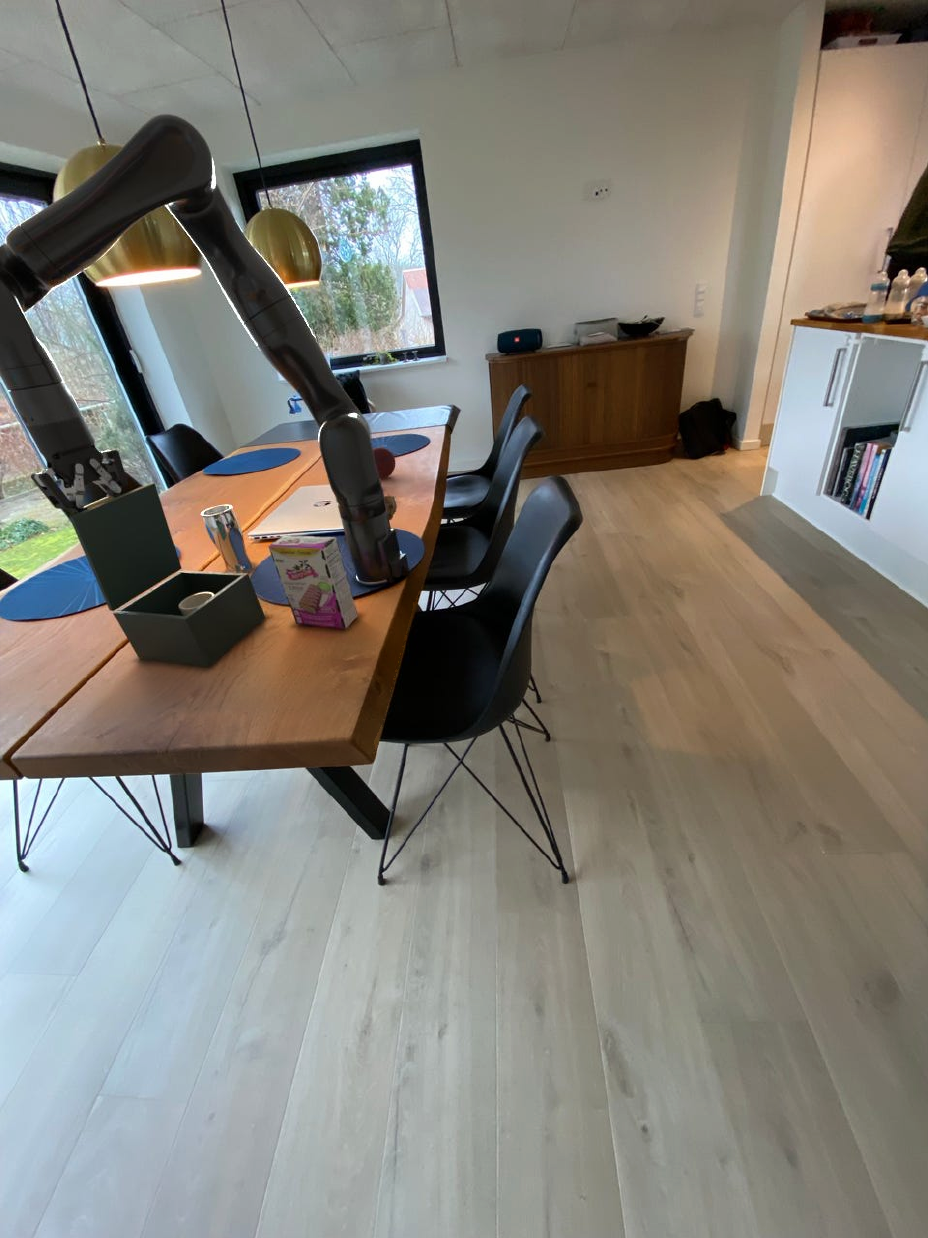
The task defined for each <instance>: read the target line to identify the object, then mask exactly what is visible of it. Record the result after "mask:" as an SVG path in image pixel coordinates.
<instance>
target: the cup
mask: <svg viewBox="0 0 928 1238" xmlns="http://www.w3.org/2000/svg"><path fill="white" fill-rule="evenodd" d="M213 596H214V594H213V593H211V592H203V593H198V594H194V595H192V596H189V597H187V598H186V599H184V600H183V601H181V602H180V604H179V609H180V611H181V613H182V615H183V616H186V615H188V614H189V613H191V612H192V611H193V610H195V609H196V608H198V607H199V606H200V605H202V604H203V603H204V602H206V601H207V600H209V599H210V598H211V597H213Z"/></svg>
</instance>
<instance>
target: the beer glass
mask: <svg viewBox="0 0 928 1238" xmlns="http://www.w3.org/2000/svg"><path fill="white" fill-rule="evenodd" d="M200 516H201V517H202V521H203V523H204V527H205V529H206V532H207V534H208V536H209V539H210V540H211V542H212V544H213V545H214V547H215V548H216V550H217V552H218V553H219V554H220V556H221V558H222V559H223V562H224V566H225V571H226V573H249V572H251V571H252V570H253V569H254V567H255V566H254V564H253V562H252V561H251V559H250V557H249V555H248V552H247V550H246V545H245V539H244V534H243V530H242V527H241V524H240V522H239V518H238V517H237V515H236V512H235V510H234V509H233V506H232V505H231V504H220V505H216V506H212V507H209V508H207V509H205V510H203V511H202V512H201V514H200Z"/></svg>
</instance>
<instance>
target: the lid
mask: <svg viewBox="0 0 928 1238" xmlns="http://www.w3.org/2000/svg"><path fill="white" fill-rule="evenodd" d="M84 507H87V510H85V511H82V512H80V513H78V514H75V515H73V514H72V515H70V516H69V520H70V522H71V524H72V527H73V529H74V531H75V535H76V537H77V538H78V540H79V544H80V546H81V547H82V550H83V552H84V555H85V556H86V560H87V561H88V564H89V566H90V568H91V571H92V573H93V575H94V577H95V581H96V582H97V584H98V587H99V589H100V591H101V594H102V596H103V598H104V601H105V603H106V606H107V608H108V610H109V611H110V612H115V611H117V610H119V609H120V608H122V607H123V606H125V605H127V604H128V603H130V602H131V601H133V600H135V599H136V598H138V597H140V596H141V595H143V594H144V593H146V592H148V591H149V590H151V589H152V588H154V587H156V586H157V585H159V584H160V583H162V582H164V581H165V580H167V579H168V578H170V577H172V576H173V575H175V574H176V573H178V572H180V571H181V570H182V565H181V562H180V559H179V554H178V552H177V549H176V546H175V543H174V538H173V536H172V532H171V529H170V527H169V523H168V520H167V517H166V514H165V511H164V508H163V505H162V502H161V498H160V495H159V492H158V489H157V486H156V483H155V482H149V483H147V484H145V485H142V486H139V487H138V488H135V489H132V490H130V491H127V492H126V493H122V494H121V496H118V497H116V498H115V497H113V496H108V497H107V496H106V497H103V498H101V499H99V500H96V501H94V502H92V503H89V504H87V505H84Z"/></svg>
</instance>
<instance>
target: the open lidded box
mask: <svg viewBox="0 0 928 1238" xmlns="http://www.w3.org/2000/svg"><path fill="white" fill-rule="evenodd" d="M203 592H211V593H213V594H214V596H213V597H211V598H210V599H209V600H207V601H206V602H204V603H203V604H202V605H200V606H199V607H198V608H196V609H195V610H193V611H192V612H191V613H189V614H188V615H186V616H183V615H182V613H181V611H180V609H179V604H180V602H181V601H183V600H184V599H186V598H187V597H189V596H192V595H194V594H198V593H203ZM112 614H113V616H114V618H115V619H116V622H117V623H118V625H119V626H120V629H121V630H122V632H123V633H124V635H125V637H126V638H127V640H128V642H129V644H130V645H131V647H132V649H133V651H134V653H135V654H136V656H137V657H138V660H144V661H150V662H159V663H168V664H174V665H183V666H191V667H200V668H207V669H210V668H211V667H212V666H213V665H214V664H216V663H217V662H218V661H219V660H220V659H221V658H222V657H223V656H225V655H226V654H227V653H228V652H229V651H230V650H231V649H233V648H235V646H236V645H237V644H238V643H239V642H241V641H242V640H243V639H244V638H245V637H246V636H247V635H249V634H250V633H251V632H252V631H254V629H256V628H257V627H258V626H259V625H260V624H261V623H262V622H264V621H265V620H266V619H267V618H266V615H265V612H264V610H263V608H262V605H261V602H260V599H259V597H258V595H257V593H256V590H255V587H254V585H253V582H252V580H251V577H250V575H249V572H247V573H227V571H226V572H224V571H223V572H222V571H202V570H182V569H180V570H179V571H177V572H175V573H174V574H172V575H171V576H169V577H168V578H166V579H164V580H163V581H161V582H160V583H158V584H156V585H155V586H153V587H152V588H150V589H148V590H147V591H145V592H144V593H142V594H140V595H139V596H137V597H136V598H134V599H132V600H131V601H129V602H128V603H126V604H124V605H123V606H121V607H120V608H118V609H116V610H115V611H113V613H112Z"/></svg>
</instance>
